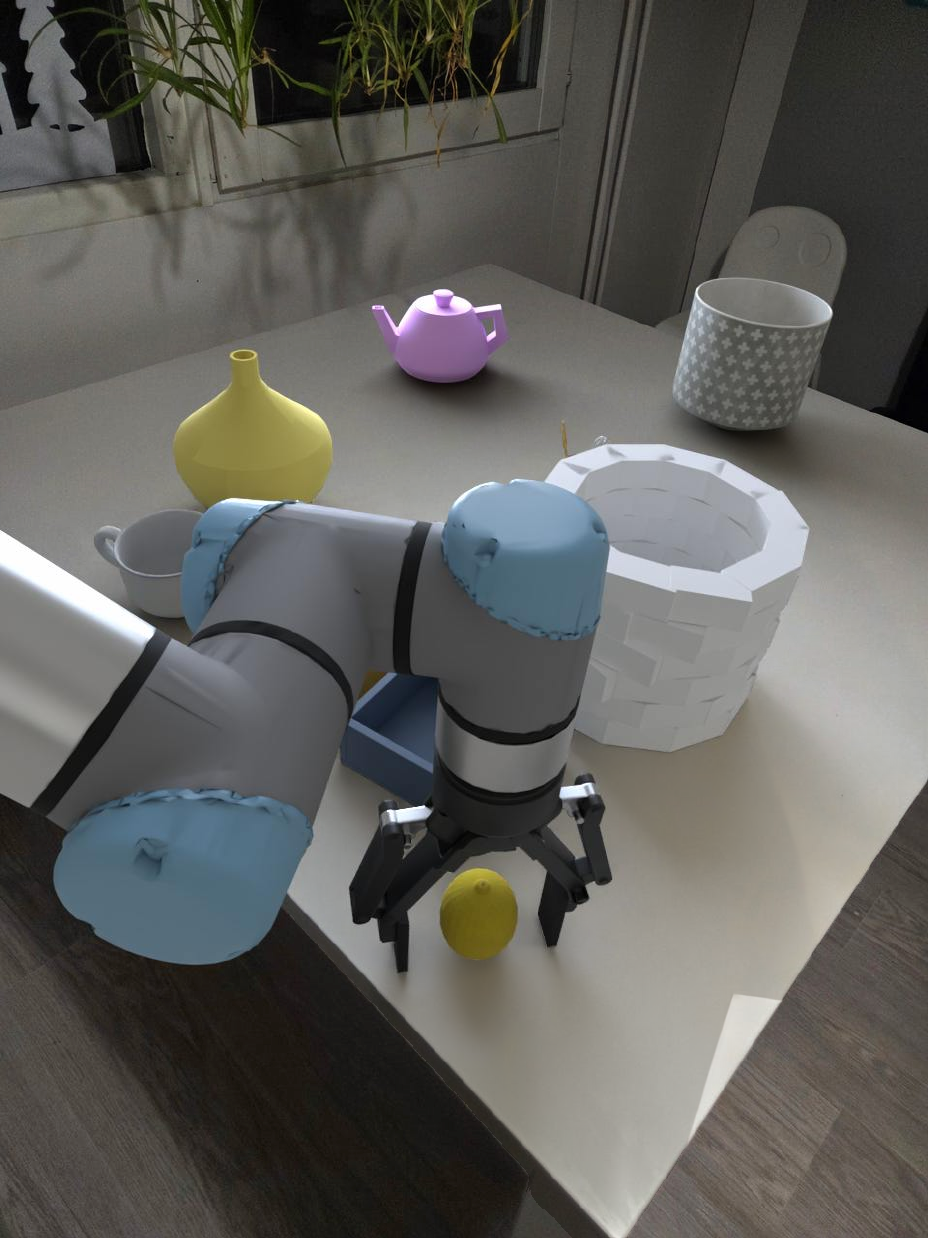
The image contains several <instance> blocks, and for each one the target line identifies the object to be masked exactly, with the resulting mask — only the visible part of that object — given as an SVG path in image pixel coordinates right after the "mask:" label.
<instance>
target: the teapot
mask: <svg viewBox="0 0 928 1238" xmlns="http://www.w3.org/2000/svg"><path fill="white" fill-rule="evenodd" d="M372 313H373V316H374V318H375V321H376V322H377V325H378V327H379V329H380V332H381V334H382V337H383V339H384V342H385V344H386V347H387V349H388V351H389V354H390V355H393V356H394V359H395V361H396V363H398V365H399V366H400V367H401V369H402V370H403V371H405V372H406V373H407V374H408V375H409V376H410V377H411V376H412V377H413V378H416V379H418V380H422V381H426V382H431V383H442V384H443V383H447V384H449V383H458V382H462V381H463V382H464V381H466V380H469V379H471V378H473V377H474V376H476V375H477V374H478V373H479V372H480V371H481V370H483V368H484V367H485V366H486V364H487V363H488V360H489V357H490V355H492V354H493V353H495V351H497V350H498V349H499V348H501V347H502V346H503V345H504V344H505V343H507V342H508V341H509V340H510V339H509V334H508V329H507V326H506V322H505V317H504V314H503V313H504V312H503V310H502V306H501V304H500V303H499V304H491V305H485V306H478V307H474V306H473V305H472V304H471V303H470V302H469V301H468V300H466V299H465V298H462V297H459V296H455V295H454V292H453V291H451V290H449V289H437V290H434V291H433V294H429V295H424V296H421V297H419V298H417V299H416V300H415V301H413V303H412V304H411V306H410V307H409V308H408V310H407V311H406V312H405V314H404V316H403V318H402V319H401V321H400V323H399V325H398V326H396V325H395V323H394V322H393V320H392V318H391V317H390V315H389V314H388V312H387V310H386V309H385V306H384V305H372ZM491 318H492V320H493V327H494V331H492V332H491V333H489V334H488V335H487V332H486V330H485V327H484V326H483V323H482V321H483V320H486V319H491Z"/></svg>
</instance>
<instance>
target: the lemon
mask: <svg viewBox="0 0 928 1238" xmlns="http://www.w3.org/2000/svg"><path fill="white" fill-rule="evenodd" d="M518 907H519V906H518V903H517V899H516V895H515V892H514V890H513V888H512V886H511V885H510V884H509V882H508V881H507V879H505V878H504V876H501V875H500V874H499V873H497V872H496V871H493V870H491V869H487V868H481V867H479V868H471V869H468V870H466V871H463V872H461V873H459V874H458V875H457V876H455V878H454V879H452V881H451V882H450V883H449V884H448V886H447V888H446V889H445V892H444V893H443V895H442V897H441V902H440V906H439V912H438V913H439V914H438V915H439V927H440V930H441V933H442V937H443V938H444V941H445V942H446V944H447V945H448V946H449V948H450V949H451V950H452V951H454V952H455V953H456V954H457V955H459V956H461V957H462V958H465V959H468V960H472V961H485V960H489V959H491V958H493V957H495V956H497V955H499V954H501V952H502V951H504V950H505V949H506V948H507V947H508V945H509V944H510V942H511V941H512V939H513V937H514V936H515V932H516V929H517V926H518V919H519V908H518Z"/></svg>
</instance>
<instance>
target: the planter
mask: <svg viewBox="0 0 928 1238" xmlns="http://www.w3.org/2000/svg"><path fill="white" fill-rule="evenodd" d="M833 311H834V310H833V309H832V307H831V306H830V304H829V303H827V302H826V300H824V299H822V297H821V298H820V297H819V296H818V295H815V293H811V292H810V291H807V290H805V289H802V288H799V287H797V286H793V285H789V284H785V283H782V282H777V281H771V280H766V279H760V278H759V279H758V278H751V277H750V278H749V277H723V278H722V277H721V278H714V279H709V280H708V281H704V282H702V283H701V284H699V285H698V287H696V289H695V292H694V297H693V301H692V305H691V309H690V313H689V317H688V321H687V324H686V330H685V333H684V338H683V342H682V345H681V346H682V347H681V351H680V353H679V358H678V362H677V366H676V371H675V375H674V379H673V383H672V388H671V394H672V395H671V396H672V398H673V399H674V401H675V402H676V403H677V404H678V406H680V407H681V409H684V411H686V412H688V413H690V414H691V415H693V416H695V417H697V418H699V419H700V420H702V421H704V423H705V422H706V423H707V424H709V425H710V426H711V425H712V426H714V427H717V428H720V429H723V430H728V431H735V432H749V431H765V430H773V429H778V428H782V427H786V426H787V425H789V424H791V423H793V422H794V421H795V419H796V418H797V417H798V415H799V411H800V408H801V406H802V404H803V400H804V397H805V395H806V391H807V389H808V385H809V384H810V381H811V378H812V375H813V372H814V370H815V367H816V364H817V361H818V358H819V356H820V353H821V350H822V347H823V344H824V341H825V339H826V335H827V333H828V330H829V327H830V324H831V322H832V319H833V316H834V312H833Z"/></svg>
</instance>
